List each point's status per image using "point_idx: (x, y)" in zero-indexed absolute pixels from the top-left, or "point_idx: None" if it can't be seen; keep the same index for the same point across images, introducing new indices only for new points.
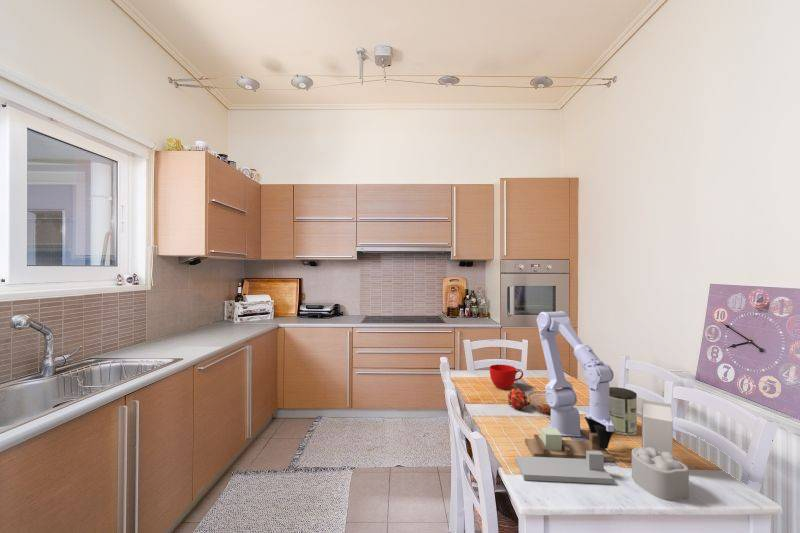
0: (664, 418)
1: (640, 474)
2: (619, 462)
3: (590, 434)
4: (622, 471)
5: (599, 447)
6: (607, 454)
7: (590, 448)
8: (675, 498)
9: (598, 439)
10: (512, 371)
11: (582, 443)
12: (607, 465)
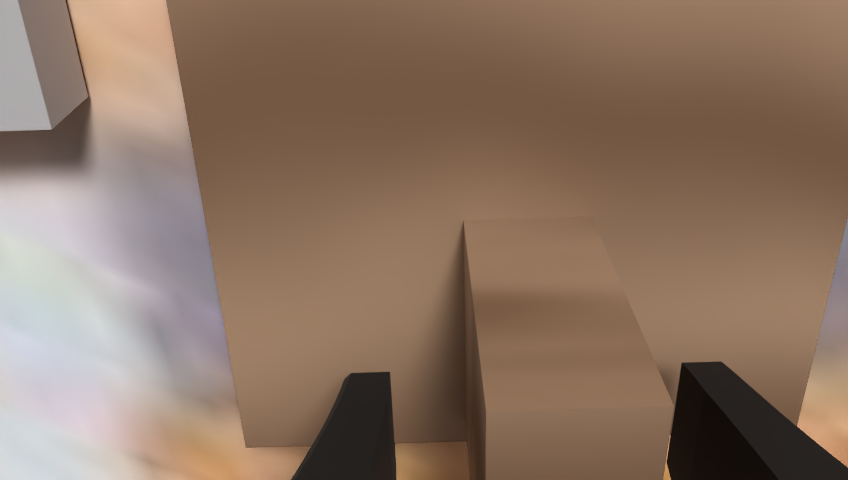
0: None
1: None
2: (270, 457)
3: (583, 399)
4: (8, 397)
5: (467, 369)
6: (311, 397)
7: (510, 207)
8: None
9: (353, 472)
10: None
11: (729, 132)
12: (128, 273)
